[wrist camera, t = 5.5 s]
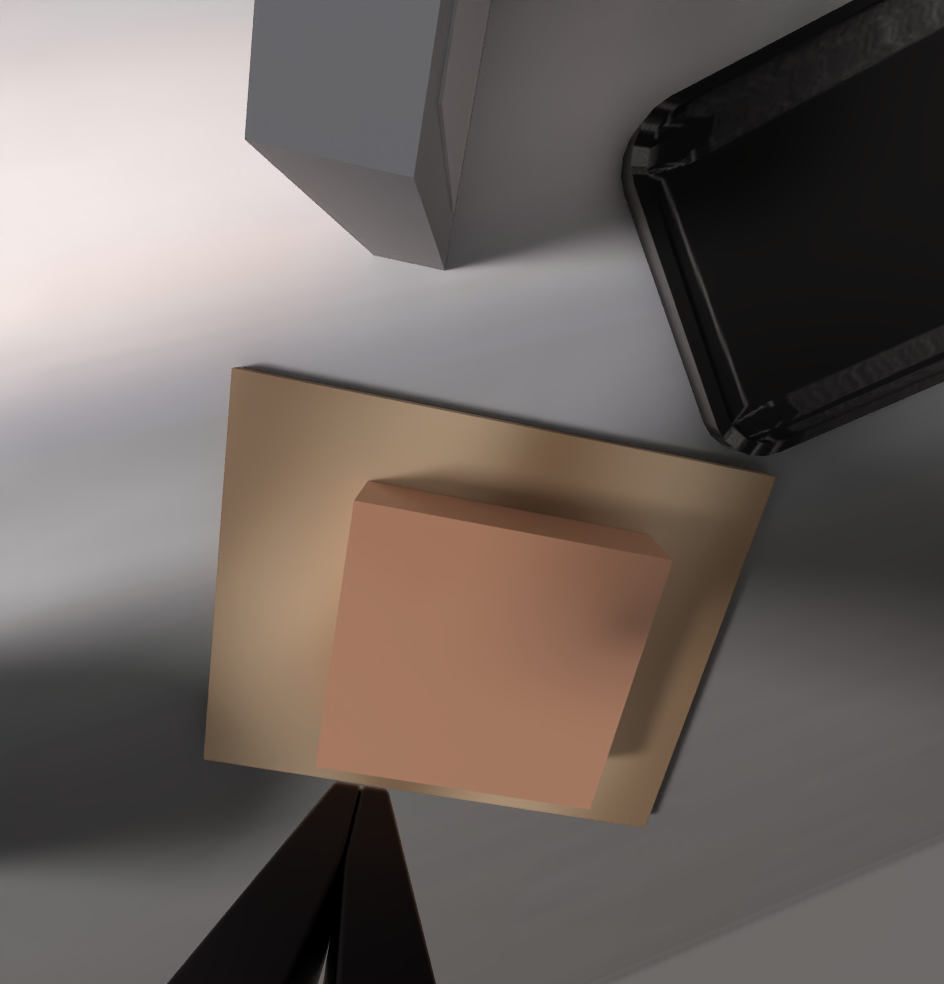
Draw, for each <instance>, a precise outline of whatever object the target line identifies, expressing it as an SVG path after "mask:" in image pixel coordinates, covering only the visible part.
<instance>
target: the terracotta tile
mask: <svg viewBox="0 0 944 984" xmlns="http://www.w3.org/2000/svg"><path fill="white" fill-rule="evenodd" d="M672 562H673V560H672V559H671V558H670V557H669V556H668V555H667V553H666V552H665V551H664V550H663V549H662V548H661V547H660V546H659V545H658V544H657V543H656V542H655V541H654V539H653V538H652V537H651V536H650V535H649V534H645V533H639V532H634V531H629V530H624V529H618V528H613V527H608V526H603V525H597V524H592V523H587V522H582V521H577V520H571V519H566V518H561V517H556V516H550V515H545V514H540V513H535V512H529V511H524V510H519V509H514V508H508V507H503V506H498V505H493V504H487V503H482V502H477V501H472V500H466V499H461V498H456V497H451V496H445V495H440V494H435V493H430V492H424V491H419V490H414V489H409V488H403V487H398V486H393V485H388V484H382V483H377V482H372V481H367V483H366V484H365V486H364V487H363V488H362V490H361V491H360V493H359V494H358V495H357V497H356V498H355V500H354V504H353V510H352V517H351V524H350V531H349V538H348V545H347V552H346V559H345V565H344V572H343V579H342V586H341V593H340V600H339V607H338V613H337V620H336V627H335V634H334V641H333V648H332V655H331V662H330V668H329V675H328V682H327V689H326V696H325V703H324V710H323V716H322V723H321V730H320V737H319V744H318V751H317V758H316V765H315V767H319V768H325V769H332V770H338V771H344V772H351V773H357V774H364V775H370V776H377V777H383V778H390V779H396V780H402V781H409V782H415V783H422V784H428V785H435V786H441V787H447V788H454V789H460V790H467V791H473V792H480V793H486V794H492V795H499V796H505V797H512V798H518V799H525V800H531V801H537V802H544V803H550V804H557V805H563V806H570V807H576V808H583V809H589V810H590V808H591V805H592V802H593V799H594V796H595V793H596V790H597V787H598V784H599V781H600V778H601V775H602V772H603V769H604V766H605V763H606V760H607V757H608V754H609V751H610V748H611V745H612V742H613V739H614V736H615V733H616V730H617V727H618V724H619V721H620V718H621V715H622V712H623V709H624V706H625V703H626V700H627V697H628V694H629V691H630V688H631V685H632V682H633V679H634V676H635V673H636V670H637V667H638V664H639V661H640V658H641V655H642V652H643V649H644V646H645V643H646V640H647V637H648V634H649V631H650V628H651V625H652V622H653V619H654V616H655V613H656V610H657V607H658V604H659V601H660V598H661V595H662V592H663V589H664V586H665V583H666V580H667V577H668V574H669V571H670V568H671V565H672Z"/></svg>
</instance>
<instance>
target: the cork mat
mask: <svg viewBox="0 0 944 984" xmlns="http://www.w3.org/2000/svg"><path fill="white" fill-rule="evenodd" d="M775 479H776V477H775V476H773V475H770V474H768V473H764V472H759V471H754V470H749V469H744V468H739V467H734V466H729V465H724V464H719V463H714V462H709V461H705V460H700V459H695V458H690V457H685V456H680V455H675V454H670V453H665V452H660V451H655V450H650V449H645V448H640V447H635V446H630V445H625V444H620V443H615V442H610V441H605V440H600V439H595V438H590V437H585V436H580V435H575V434H570V433H565V432H560V431H555V430H550V429H545V428H540V427H535V426H530V425H526V424H521V423H516V422H511V421H506V420H501V419H496V418H491V417H486V416H481V415H476V414H471V413H466V412H461V411H456V410H451V409H446V408H441V407H436V406H431V405H426V404H421V403H416V402H411V401H406V400H401V399H396V398H391V397H386V396H381V395H376V394H371V393H366V392H361V391H356V390H352V389H347V388H342V387H337V386H332V385H327V384H322V383H317V382H312V381H307V380H302V379H297V378H292V377H287V376H282V375H277V374H272V373H267V372H262V371H257V370H252V369H247V368H242V367H235V368H232V374H231V388H230V402H229V416H228V429H227V443H226V457H225V471H224V484H223V498H222V512H221V526H220V539H219V553H218V567H217V581H216V594H215V608H214V622H213V636H212V649H211V663H210V677H209V691H208V704H207V718H206V732H205V746H204V760H210V761H217V762H223V763H230V764H236V765H242V766H249V767H255V768H262V769H268V770H275V771H281V772H288V773H294V774H301V775H307V776H314V777H320V778H327V779H333V780H340V781H346V782H353V783H359V784H366V785H372V786H379V787H385V788H392V789H398V790H405V791H411V792H417V793H424V794H430V795H437V796H443V797H450V798H456V799H463V800H469V801H476V802H482V803H489V804H495V805H502V806H508V807H515V808H521V809H528V810H534V811H541V812H547V813H554V814H560V815H567V816H573V817H580V818H586V819H592V820H599V821H605V822H612V823H618V824H625V825H631V826H638V827H644V828H645V826H646V824H647V821H648V818H649V816H650V813H651V810H652V808H653V805H654V802H655V800H656V797H657V794H658V792H659V789H660V786H661V783H662V781H663V778H664V775H665V773H666V770H667V767H668V765H669V762H670V759H671V757H672V754H673V751H674V749H675V746H676V743H677V741H678V738H679V735H680V733H681V730H682V727H683V725H684V722H685V719H686V717H687V714H688V711H689V709H690V706H691V703H692V701H693V698H694V695H695V693H696V690H697V687H698V685H699V682H700V679H701V677H702V674H703V671H704V669H705V666H706V663H707V661H708V658H709V655H710V653H711V650H712V647H713V645H714V642H715V639H716V637H717V634H718V631H719V629H720V626H721V623H722V621H723V618H724V615H725V613H726V610H727V607H728V605H729V602H730V599H731V597H732V594H733V591H734V589H735V586H736V583H737V581H738V578H739V575H740V573H741V570H742V567H743V565H744V562H745V559H746V557H747V554H748V551H749V549H750V546H751V543H752V541H753V538H754V535H755V533H756V530H757V527H758V525H759V522H760V519H761V517H762V514H763V511H764V509H765V506H766V503H767V501H768V498H769V495H770V493H771V490H772V487H773V485H774V482H775ZM367 481H372V482H377V483H382V484H388V485H393V486H398V487H403V488H409V489H414V490H419V491H424V492H430V493H435V494H440V495H445V496H451V497H456V498H461V499H466V500H472V501H477V502H482V503H487V504H493V505H498V506H503V507H508V508H514V509H519V510H524V511H529V512H535V513H540V514H545V515H550V516H556V517H561V518H566V519H571V520H577V521H582V522H587V523H592V524H597V525H603V526H608V527H613V528H618V529H624V530H629V531H634V532H639V533H645V534H649V535H650V536H651V537H652V538H653V539H654V541H655V542H656V543H657V544H658V545H659V546H660V547H661V548H662V549H663V550H664V551H665V552H666V553H667V555H668V556H669V557H670V558H671V559H672V560H673V562H672V565H671V568H670V571H669V574H668V577H667V580H666V583H665V586H664V589H663V592H662V595H661V598H660V601H659V604H658V607H657V610H656V613H655V616H654V619H653V622H652V625H651V628H650V631H649V634H648V637H647V640H646V643H645V646H644V649H643V652H642V655H641V658H640V661H639V664H638V667H637V670H636V673H635V676H634V679H633V682H632V685H631V688H630V691H629V694H628V697H627V700H626V703H625V706H624V709H623V712H622V715H621V718H620V721H619V724H618V727H617V730H616V733H615V736H614V739H613V742H612V745H611V748H610V751H609V754H608V757H607V760H606V763H605V766H604V769H603V772H602V775H601V778H600V781H599V784H598V787H597V790H596V793H595V796H594V799H593V802H592V805H591V808H590V810H589V809H583V808H576V807H570V806H563V805H557V804H550V803H544V802H537V801H531V800H525V799H518V798H512V797H505V796H499V795H492V794H486V793H480V792H473V791H467V790H460V789H454V788H447V787H441V786H435V785H428V784H422V783H415V782H409V781H402V780H396V779H390V778H383V777H377V776H370V775H364V774H357V773H351V772H344V771H338V770H332V769H325V768H319V767H315V765H316V758H317V751H318V744H319V737H320V730H321V723H322V716H323V710H324V703H325V696H326V689H327V682H328V675H329V668H330V662H331V655H332V648H333V641H334V634H335V627H336V620H337V613H338V607H339V600H340V593H341V586H342V579H343V572H344V565H345V559H346V552H347V545H348V538H349V531H350V524H351V517H352V510H353V504H354V500H355V498H356V497H357V495H358V494H359V493H360V491H361V490H362V488H363V487H364V486H365V484H366V483H367Z"/></svg>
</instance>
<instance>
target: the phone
mask: <svg viewBox="0 0 944 984" xmlns="http://www.w3.org/2000/svg"><path fill="white" fill-rule="evenodd" d="M621 179H622V185H623V190H624V195H625V198H626V201H627V204H628V207H629V210H630V213H631V216H632V218H633V221H634V224H635V227H636V230H637V233H638V236H639V239H640V241H641V244H642V247H643V250H644V253H645V256H646V259H647V262H648V264H649V267H650V270H651V273H652V276H653V279H654V282H655V284H656V287H657V290H658V293H659V296H660V299H661V302H662V305H663V307H664V310H665V313H666V316H667V319H668V322H669V325H670V328H671V330H672V333H673V336H674V339H675V342H676V345H677V348H678V351H679V353H680V356H681V359H682V362H683V365H684V368H685V371H686V374H687V376H688V379H689V382H690V385H691V388H692V391H693V394H694V397H695V399H696V402H697V405H698V408H699V411H700V414H701V417H702V420H703V422H704V424H705V426H706V428H707V430H708V431H709V433H710V435H711V436H712V437H714V438H715V439H716V440H717V441H718V442H719V443H721V444H723V445H725V446H727V447H730V448H732V449H734V450H737V451H740V452H742V453H745V454H748V455H756V456H766V455H770V454H774V453H777V452H781V451H783V450H786V449H788V448H790V447H793V446H795V445H797V444H800V443H802V442H804V441H807V440H809V439H811V438H814V437H816V436H818V435H820V434H823V433H825V432H827V431H830V430H832V429H834V428H837V427H839V426H841V425H844V424H846V423H848V422H851V421H853V420H855V419H858V418H860V417H862V416H864V415H867V414H869V413H871V412H874V411H876V410H878V409H881V408H883V407H885V406H888V405H890V404H892V403H895V402H897V401H899V400H902V399H904V398H906V397H908V396H911V395H913V394H915V393H918V392H920V391H922V390H925V389H927V388H929V387H932V386H934V385H936V384H939V383H941V382H943V381H944V0H853V1H851V2H849V3H847V4H845V5H843V6H841V7H840V8H838V9H836V10H834V11H832V12H830V13H828V14H826V15H824V16H822V17H821V18H819V19H817V20H815V21H813V22H811V23H809V24H807V25H805V26H803V27H801V28H800V29H798V30H796V31H794V32H792V33H790V34H788V35H786V36H784V37H782V38H780V39H779V40H777V41H775V42H773V43H771V44H769V45H767V46H765V47H763V48H761V49H760V50H758V51H756V52H754V53H752V54H750V55H748V56H746V57H744V58H742V59H740V60H739V61H737V62H735V63H733V64H731V65H729V66H727V67H725V68H723V69H721V70H720V71H718V72H716V73H714V74H712V75H710V76H708V77H706V78H704V79H702V80H700V81H699V82H697V83H695V84H693V85H691V86H689V87H687V88H685V89H683V90H681V91H680V92H678V93H676V94H674V95H672V96H670V97H669V98H667V99H666V100H665V101H663V102H662V103H661V104H659V105H658V106H657V107H655V108H654V109H653V110H652V111H651V113H650V114H649V115H648V116H647V118H646V119H645V120H644V121H643V123H642V124H641V125H640V127H639V128H638V129H637V131H636V132H635V133H634V135H633V136H632V137H631V139H630V141H629V143H628V146H627V148H626V151H625V154H624V156H623V162H622V172H621Z"/></svg>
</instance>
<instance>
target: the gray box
mask: <svg viewBox="0 0 944 984" xmlns="http://www.w3.org/2000/svg"><path fill="white" fill-rule="evenodd" d="M491 2H492V0H255V3H254V17H253V31H252V45H251V59H250V73H249V87H248V101H247V115H246V129H245V140H246V141H247V142H248V143H249V144H251V145H252V146H253V147H254V148H255V149H256V150H257V151H258V152H259V153H261V154H262V155H263V156H264V157H265V158H266V159H267V160H268V161H269V162H271V163H272V164H273V165H274V166H275V167H276V168H277V169H278V170H279V171H281V172H282V173H283V174H284V175H285V176H286V177H287V178H288V179H290V180H291V181H292V182H293V183H294V184H295V185H296V186H297V187H298V188H300V189H301V190H302V191H303V192H304V193H305V194H306V195H307V196H308V197H310V198H311V199H312V200H313V201H314V202H315V203H316V204H317V205H318V206H320V207H321V208H322V209H323V210H324V211H325V212H326V213H327V214H328V215H330V216H331V217H332V218H333V219H334V220H335V221H336V222H337V223H338V224H340V225H341V226H342V227H343V228H344V229H345V230H346V231H347V232H348V233H350V234H351V235H352V236H353V237H354V238H355V239H356V240H357V241H358V242H360V243H361V244H362V245H363V246H364V247H365V248H366V249H367V250H369V251H370V252H371V253H372V254H373V255H375V256H380V257H384V258H389V259H394V260H398V261H403V262H407V263H412V264H417V265H421V266H426V267H430V268H435V269H440V270H444V271H445V266H446V261H447V255H448V249H449V243H450V238H451V232H452V226H453V220H454V215H455V209H456V203H457V197H458V192H459V186H460V180H461V174H462V169H463V163H464V157H465V151H466V146H467V140H468V134H469V128H470V123H471V117H472V111H473V105H474V100H475V94H476V88H477V82H478V77H479V71H480V65H481V59H482V54H483V48H484V42H485V36H486V31H487V25H488V19H489V13H490V8H491Z"/></svg>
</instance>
